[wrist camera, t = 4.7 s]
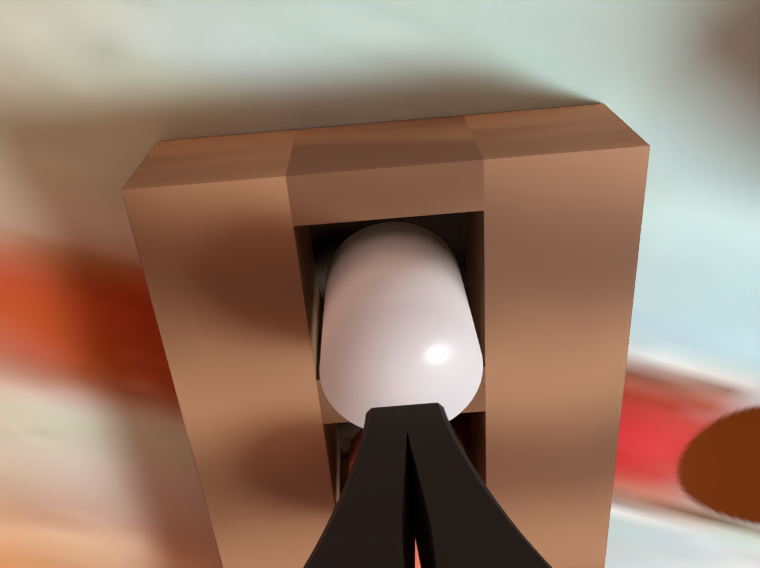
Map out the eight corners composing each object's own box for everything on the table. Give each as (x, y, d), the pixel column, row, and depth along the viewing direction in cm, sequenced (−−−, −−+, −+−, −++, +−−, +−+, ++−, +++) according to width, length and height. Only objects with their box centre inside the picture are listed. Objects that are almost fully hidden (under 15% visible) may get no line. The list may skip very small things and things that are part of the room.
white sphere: (461, 333, 20) (483, 428, 16) (333, 344, 20) (329, 441, 16) (458, 216, 18) (482, 294, 15) (318, 227, 18) (309, 308, 15)
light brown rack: (568, 580, 29) (593, 663, 26) (266, 602, 29) (255, 688, 26) (603, 103, 19) (650, 145, 16) (158, 141, 20) (121, 189, 17)
